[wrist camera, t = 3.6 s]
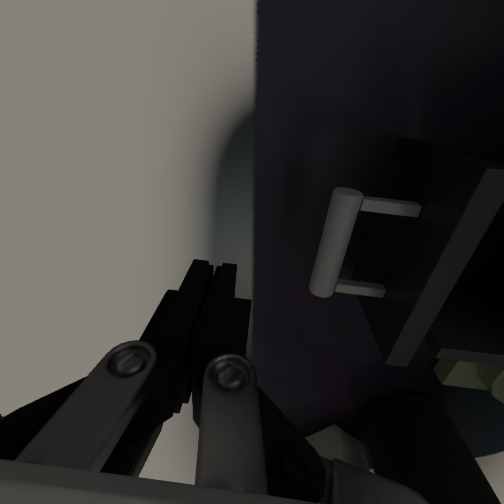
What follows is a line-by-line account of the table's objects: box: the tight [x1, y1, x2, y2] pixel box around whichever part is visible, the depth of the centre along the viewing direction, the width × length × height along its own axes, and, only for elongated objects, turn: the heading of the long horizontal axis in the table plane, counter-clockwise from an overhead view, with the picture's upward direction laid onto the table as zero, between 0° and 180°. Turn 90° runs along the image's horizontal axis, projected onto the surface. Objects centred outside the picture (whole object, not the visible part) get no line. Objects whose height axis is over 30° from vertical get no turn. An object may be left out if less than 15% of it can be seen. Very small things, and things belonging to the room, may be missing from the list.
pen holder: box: [364, 393, 501, 504], centre depth 27 cm, size 9×9×10 cm
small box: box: [306, 425, 370, 472], centre depth 31 cm, size 8×6×10 cm
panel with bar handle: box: [309, 137, 504, 367], centre depth 15 cm, size 17×10×8 cm, turn 84°
